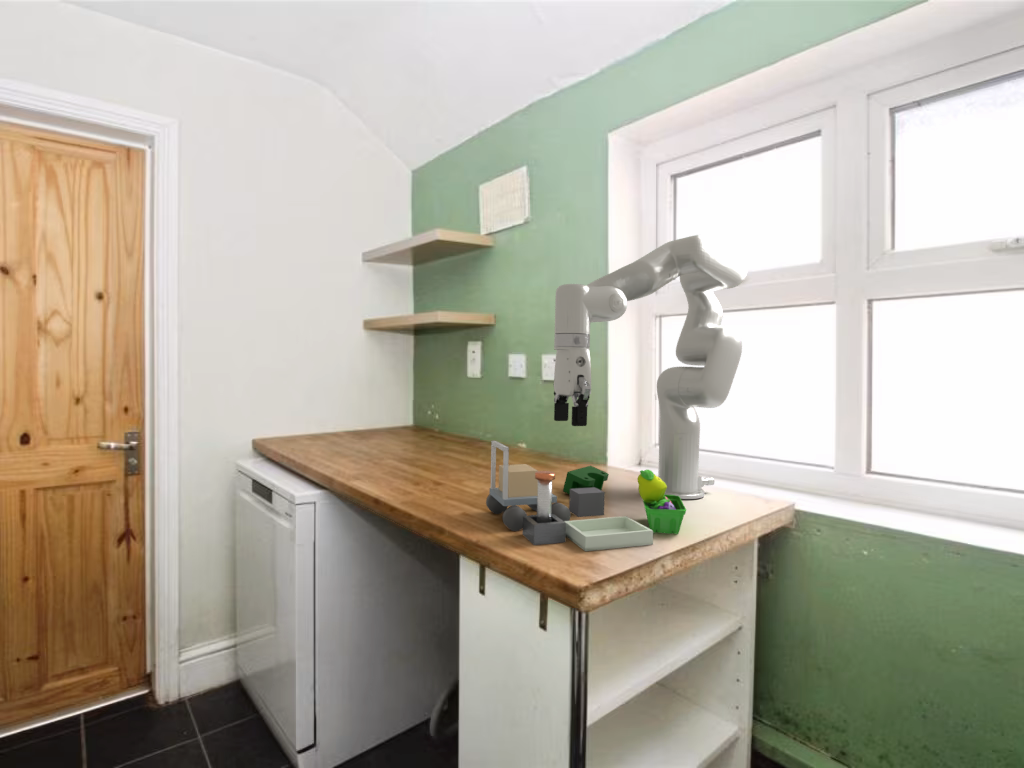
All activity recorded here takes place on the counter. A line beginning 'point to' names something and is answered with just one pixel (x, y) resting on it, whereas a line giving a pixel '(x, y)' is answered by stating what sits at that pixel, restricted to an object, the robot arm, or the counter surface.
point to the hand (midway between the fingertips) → (569, 423)
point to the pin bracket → (544, 530)
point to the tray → (608, 533)
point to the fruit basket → (660, 504)
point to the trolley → (516, 491)
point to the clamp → (585, 478)
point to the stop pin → (544, 495)
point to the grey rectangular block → (586, 502)
